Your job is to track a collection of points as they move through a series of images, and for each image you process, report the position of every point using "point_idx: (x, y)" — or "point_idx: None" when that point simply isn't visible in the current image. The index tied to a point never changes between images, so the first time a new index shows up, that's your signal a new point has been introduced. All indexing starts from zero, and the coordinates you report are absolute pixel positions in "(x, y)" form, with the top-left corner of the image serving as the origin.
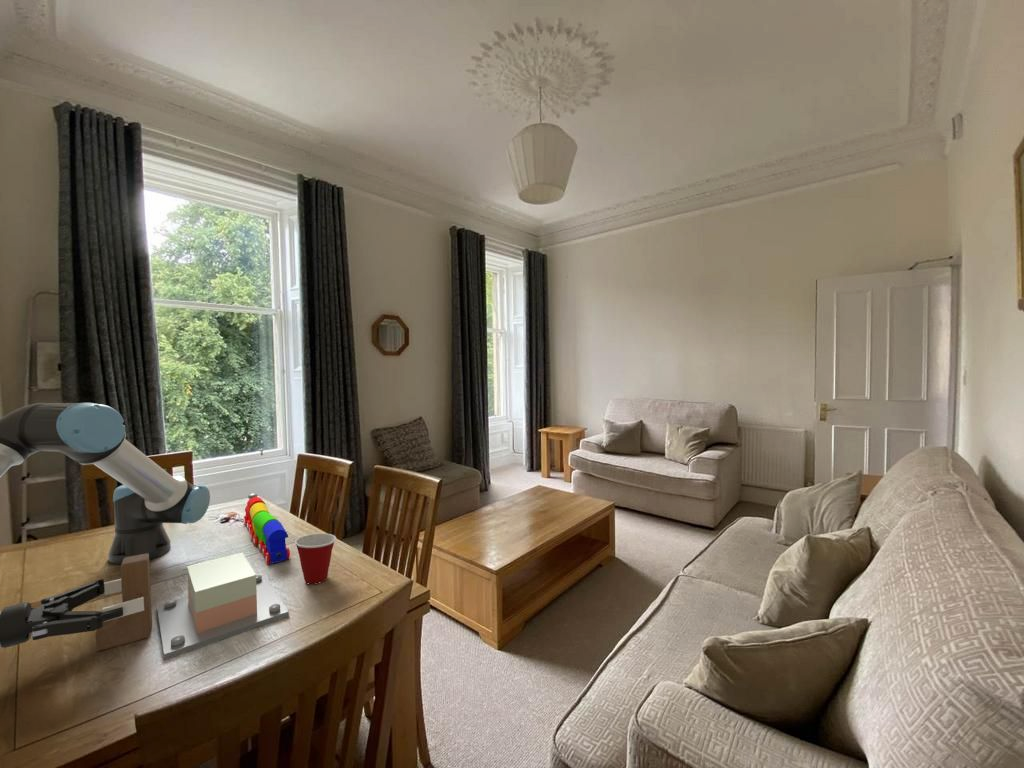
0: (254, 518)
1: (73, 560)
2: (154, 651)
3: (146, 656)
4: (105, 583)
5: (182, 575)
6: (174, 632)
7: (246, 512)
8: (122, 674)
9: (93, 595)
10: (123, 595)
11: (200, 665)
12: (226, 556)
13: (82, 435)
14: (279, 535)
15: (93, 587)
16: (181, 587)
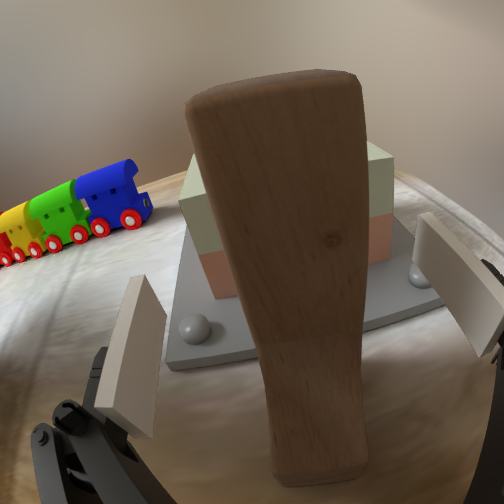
0: (31, 211)
1: None
2: (417, 330)
3: (434, 339)
4: (111, 401)
5: (48, 332)
6: (368, 297)
7: None
8: (491, 359)
9: (149, 478)
10: (365, 287)
11: (473, 248)
12: (190, 164)
13: None
14: (131, 169)
15: (113, 461)
16: (95, 332)
